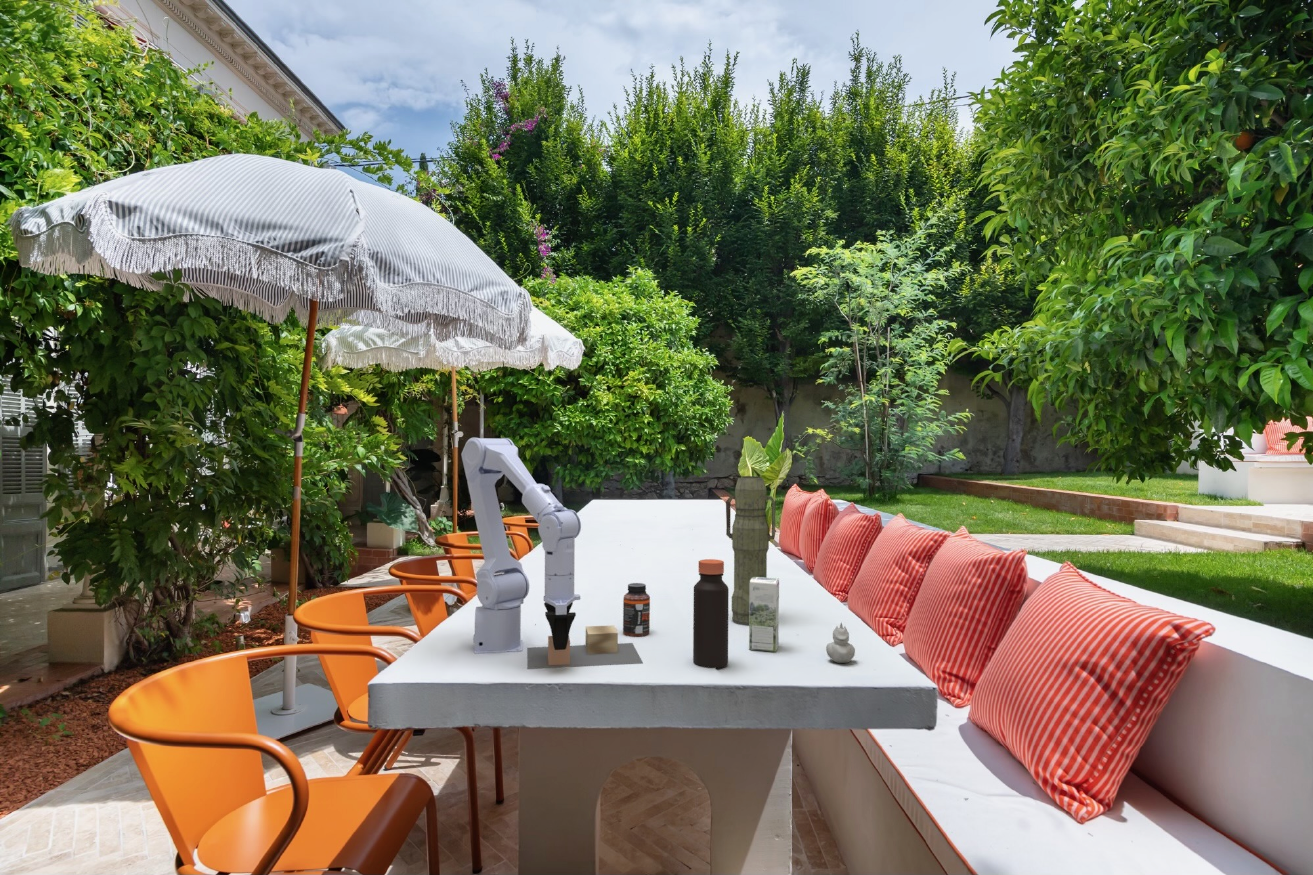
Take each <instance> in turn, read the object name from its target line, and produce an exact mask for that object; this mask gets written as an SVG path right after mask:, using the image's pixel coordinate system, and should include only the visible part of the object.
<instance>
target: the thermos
mask: <svg viewBox="0 0 1313 875" xmlns="http://www.w3.org/2000/svg"><path fill="white" fill-rule="evenodd" d="M733 500H734V508H735V514H734V520H733V524H732V527H731V506H732V505H731V504H732V502H731V501H733ZM767 501H770V502H771V533H770V529H769V528H770V526H769V524H768V521H767V514H766V512H767V511H766V510H767ZM725 517H726V518H725V522H726V527H725V528H726V529H725V530H726V536H727V537H728V538H729V539H731V541H732V542H731V544H732V546H731V547H732V550H733V552H734V553H733V556H734V557H733V564H734V566H733V592H732V596H731V612H732V616H731V617H732V618H731V619H732V620H731V621H732V622H733V624H737V625H741V626H747V627H749V584H750V580H751V578H752V577H764V578H768V577H767V576H768V574H767V567H768V566H767V564H768V563H767V562H768V560H767V559H768V558H767V557H768V555H767V553H768V552H769V549H770V548H769V546H770V544H769V543H770V541H771V540H775V536H776V501H775V499H774V498H773V497H772V496H771V495H768V494H767V486H766V483H765V479H764V477H763V478H762V477H761V476H759V475H758V476H757V475H756V476H755V475H753V476H752V475H744V476H743V475H742V476H741V477H738V479H737V481H736V486H735V489H734V495H730V496H729V497H728V498H727V500H726V501H725ZM731 528H732V530H731ZM731 531H732V532H731Z"/></svg>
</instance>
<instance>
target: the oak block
mask: <svg viewBox="0 0 1313 875" xmlns="http://www.w3.org/2000/svg"><path fill="white" fill-rule="evenodd" d="M618 641H619V633H618V630H617V628H616V626H615V625H591V626H585V645H586V649H587V652H588V654H602V653H618V644H619V643H618Z"/></svg>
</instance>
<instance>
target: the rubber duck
mask: <svg viewBox="0 0 1313 875" xmlns="http://www.w3.org/2000/svg"><path fill="white" fill-rule="evenodd" d="M839 624H840V625H839V626H838V625H836V626H835V628H834V629H833V632H832V639H833V641H832V642H829V643H828V644H826V647H825V649H826V650H825V651H826V654H827V656H828V657H829V658H830V659H831V660H832V661H833V662H835V663H837V664H847V663H849V662H851V661H852V659H854V657H855V654H856V648H855V647H854V645H853V644H851V643H849V641H850V634H849V631H848V629H847V627H846V625H844V626H843V623H842V621H841V622H840V623H839Z"/></svg>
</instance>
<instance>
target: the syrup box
mask: <svg viewBox="0 0 1313 875" xmlns="http://www.w3.org/2000/svg"><path fill="white" fill-rule="evenodd" d="M779 605H780V579H779V578H776V577H767V578H764V577H752V578H751V580H750V584H749V626H748V629H749V630H748V633H749V634H748V643H749V644H748V650H751V651H760V652H771V653H776V652H777V650H778V647H779V643H780V642H779V641H780V640H779V639H780V638H779V618H780V617H779V614H780V613H779V612H780V610H779V608H780V607H779Z"/></svg>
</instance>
